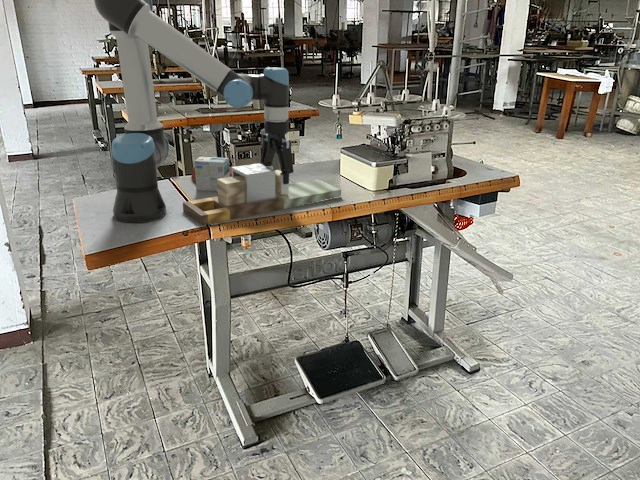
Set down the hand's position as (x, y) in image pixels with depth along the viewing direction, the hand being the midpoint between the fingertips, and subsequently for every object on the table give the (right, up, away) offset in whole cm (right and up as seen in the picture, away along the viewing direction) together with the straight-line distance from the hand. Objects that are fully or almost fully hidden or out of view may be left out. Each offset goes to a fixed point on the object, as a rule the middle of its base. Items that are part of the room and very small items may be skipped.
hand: (276, 189), depth 170 cm
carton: (-21, +6, +26) cm, 33 cm away
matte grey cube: (-7, -3, -4) cm, 9 cm away
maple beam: (-7, -3, -4) cm, 9 cm away
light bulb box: (-23, +1, +13) cm, 27 cm away
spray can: (-4, +7, +28) cm, 29 cm away
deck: (-3, -5, 0) cm, 6 cm away
